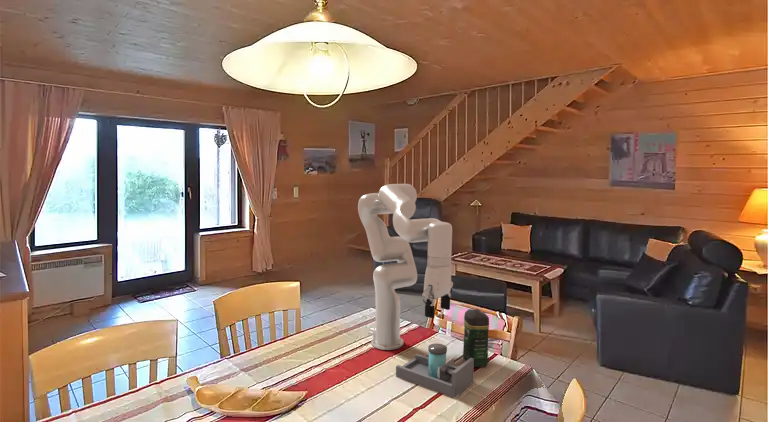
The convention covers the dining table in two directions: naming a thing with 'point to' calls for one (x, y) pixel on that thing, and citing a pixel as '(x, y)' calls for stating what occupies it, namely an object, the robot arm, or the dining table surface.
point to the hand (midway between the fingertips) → (437, 312)
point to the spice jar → (436, 358)
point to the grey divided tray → (419, 375)
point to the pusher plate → (445, 369)
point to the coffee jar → (476, 337)
